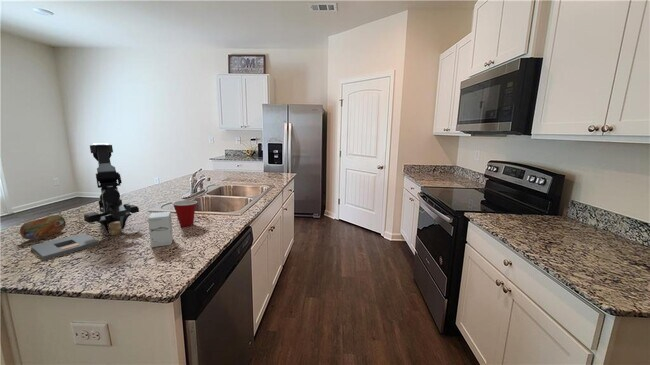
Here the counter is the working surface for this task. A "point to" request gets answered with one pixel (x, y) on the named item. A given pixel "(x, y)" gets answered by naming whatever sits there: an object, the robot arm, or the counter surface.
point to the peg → (115, 228)
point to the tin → (42, 227)
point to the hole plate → (52, 250)
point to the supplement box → (160, 229)
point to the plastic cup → (185, 212)
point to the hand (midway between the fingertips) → (115, 231)
